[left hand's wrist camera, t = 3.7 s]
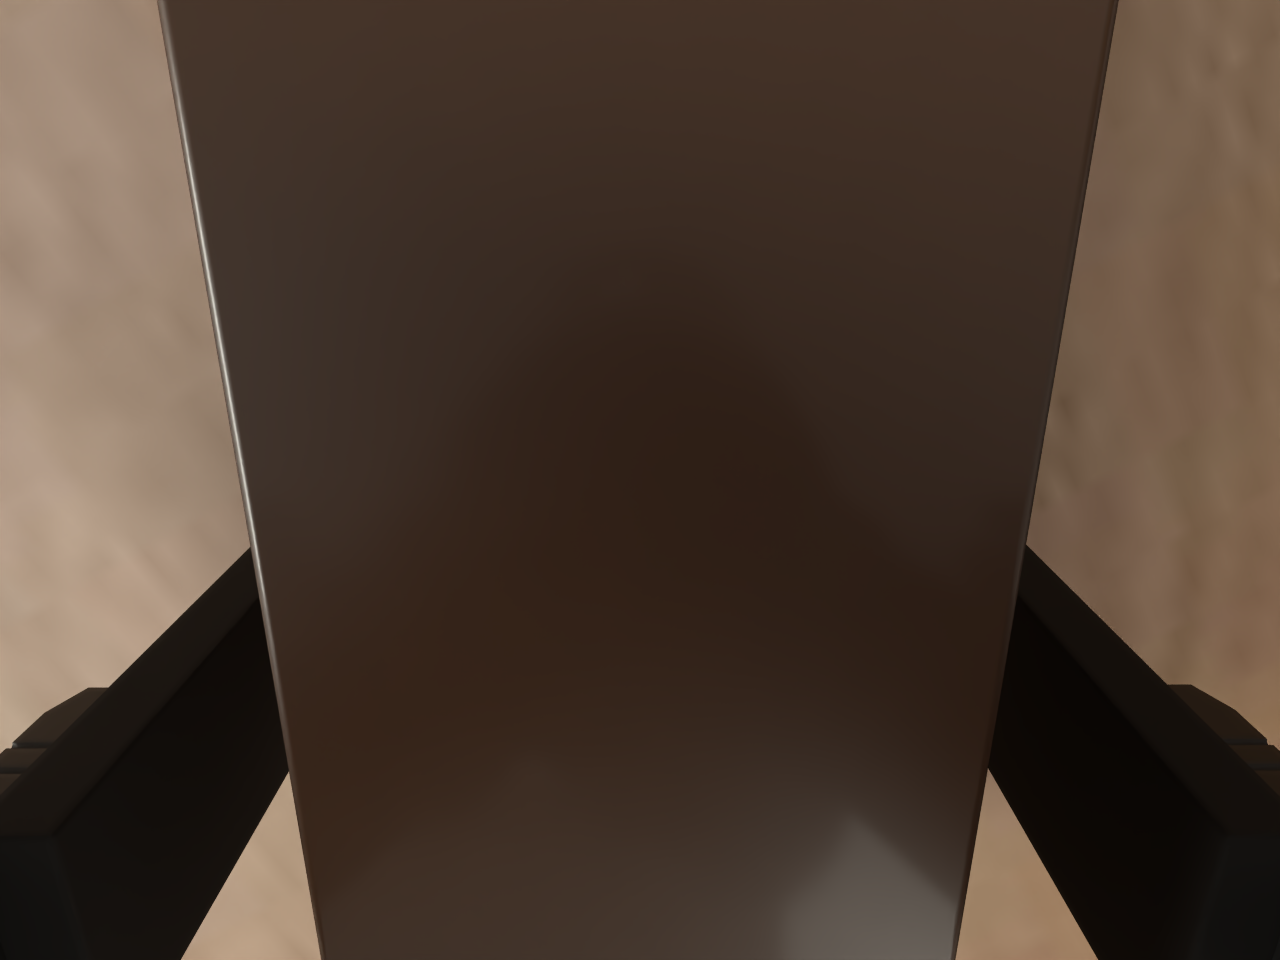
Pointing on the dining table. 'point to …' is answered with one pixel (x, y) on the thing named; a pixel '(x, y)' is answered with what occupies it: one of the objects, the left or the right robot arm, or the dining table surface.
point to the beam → (638, 447)
